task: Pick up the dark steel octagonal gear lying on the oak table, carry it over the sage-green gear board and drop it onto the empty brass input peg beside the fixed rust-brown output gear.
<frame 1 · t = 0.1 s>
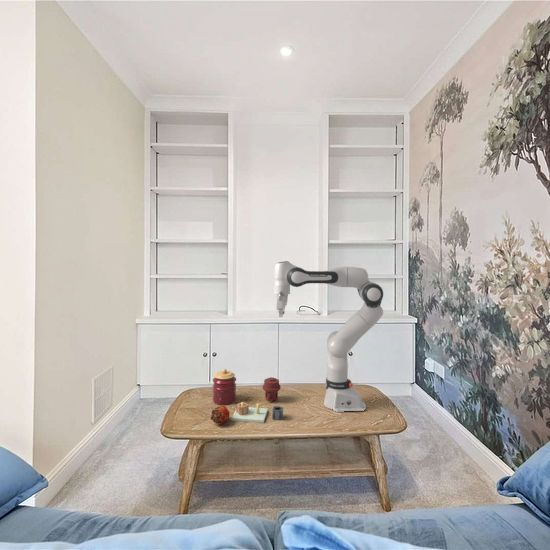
hand: (281, 315, 179), 48 cm above the table, fingers open, 8 cm apart
gear board: (250, 415, 164), on the table
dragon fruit: (220, 422, 157), on the table
mechanical component: (271, 400, 182), on the table
loose gear: (277, 417, 162), on the table
canister: (224, 400, 182), on the table
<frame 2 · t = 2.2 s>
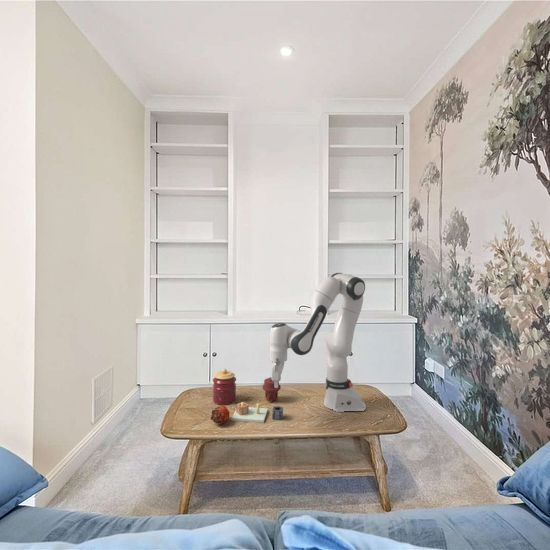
hand: (277, 383, 161), 17 cm above the table, fingers open, 8 cm apart
nothing on the table moved.
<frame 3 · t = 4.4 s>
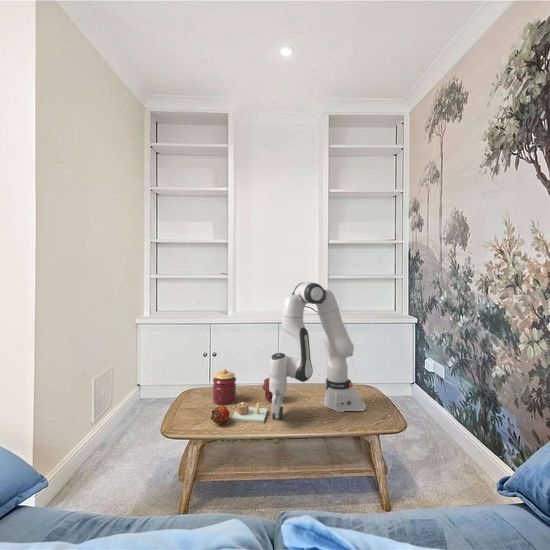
hand: (277, 414, 162), 2 cm above the table, fingers closed on loose gear, 5 cm apart
loose gear: (277, 417, 162), on the table, touching gripper
everything else where it was.
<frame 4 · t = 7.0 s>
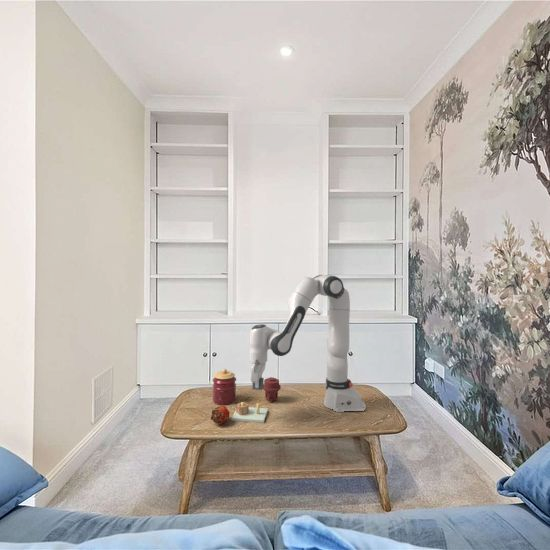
hand: (258, 384, 163), 16 cm above the table, fingers closed on loose gear, 5 cm apart
loose gear: (257, 387, 163), point 14 cm above the table, touching gripper
everything else where it was.
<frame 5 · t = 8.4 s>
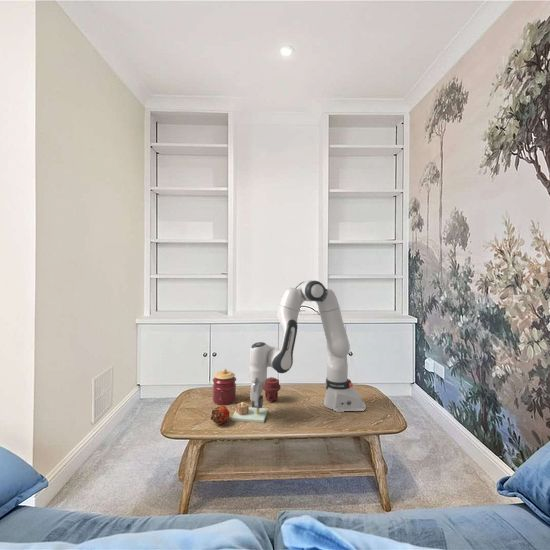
hand: (257, 402, 163), 7 cm above the table, fingers closed on loose gear, 5 cm apart
loose gear: (257, 405, 163), point 5 cm above the table, touching gripper
everything else where it was.
when the fingers open (5 cm above the table, at t = 9.6 s): loose gear drops 2 cm, resting on gear board.
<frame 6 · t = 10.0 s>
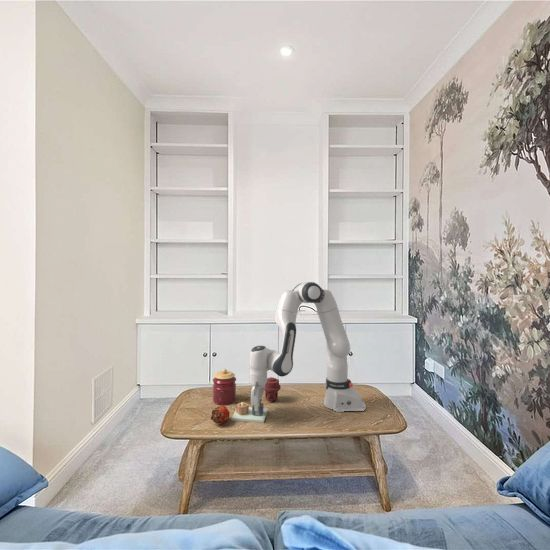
hand: (258, 406, 163), 5 cm above the table, fingers open, 8 cm apart
loose gear: (257, 413, 163), point 1 cm above the table, touching gear board
everything else where it was.
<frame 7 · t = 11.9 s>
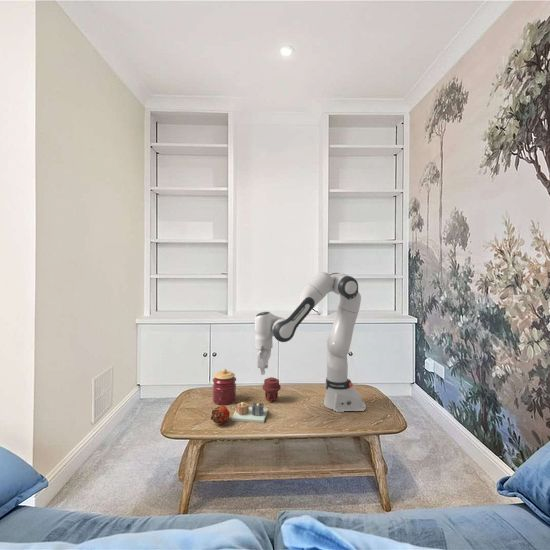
hand: (264, 371, 165), 22 cm above the table, fingers open, 8 cm apart
nothing on the table moved.
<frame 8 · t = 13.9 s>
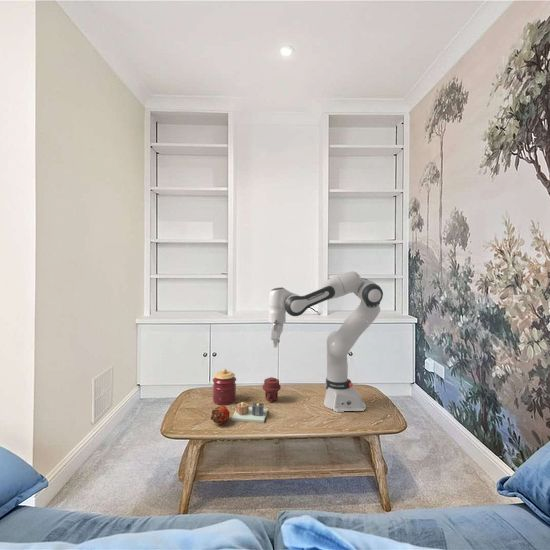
hand: (276, 344, 170), 34 cm above the table, fingers open, 8 cm apart
nothing on the table moved.
at the end: loose gear 0.1 cm from the target spot on the gear board, point 1.2 cm above the gear board's base; the gripper is holding nothing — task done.
